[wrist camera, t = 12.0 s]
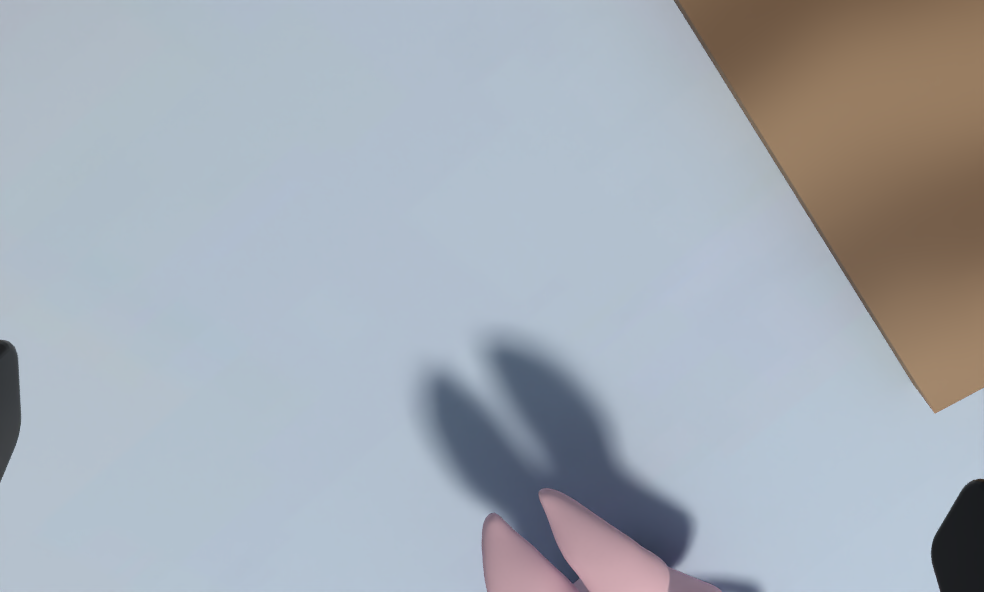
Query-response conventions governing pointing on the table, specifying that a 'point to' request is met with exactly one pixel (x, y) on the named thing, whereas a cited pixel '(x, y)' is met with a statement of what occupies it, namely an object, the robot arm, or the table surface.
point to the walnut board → (877, 155)
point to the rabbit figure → (576, 556)
